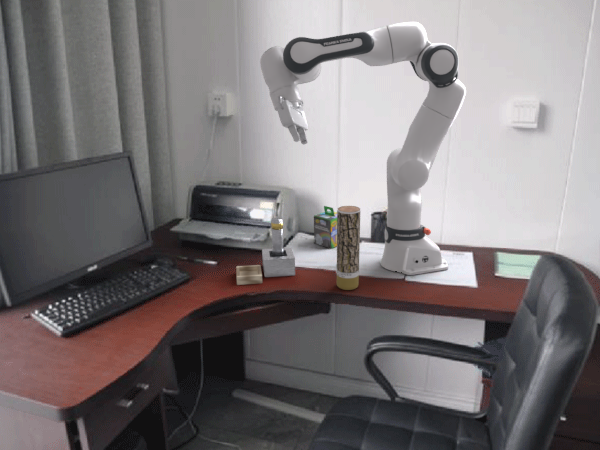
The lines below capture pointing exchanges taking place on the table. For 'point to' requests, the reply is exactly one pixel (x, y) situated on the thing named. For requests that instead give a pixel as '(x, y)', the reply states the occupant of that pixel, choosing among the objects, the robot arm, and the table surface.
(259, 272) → the birch rack
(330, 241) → the chalk box
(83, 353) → the table surface
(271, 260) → the socket block
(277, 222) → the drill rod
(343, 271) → the paper tube
